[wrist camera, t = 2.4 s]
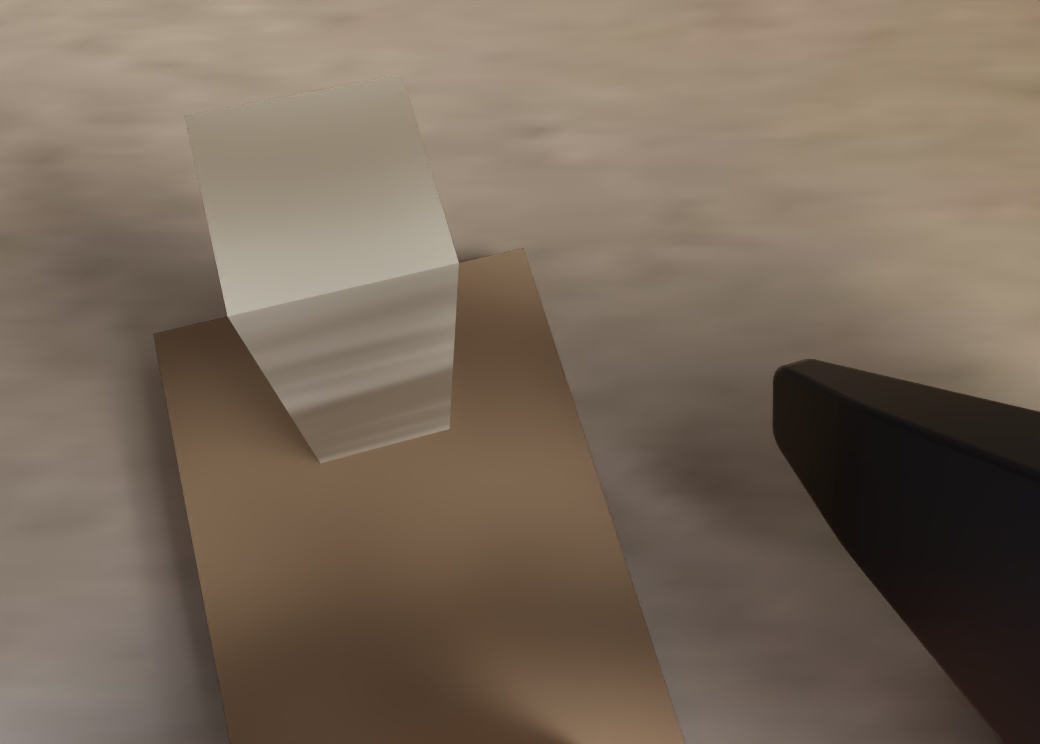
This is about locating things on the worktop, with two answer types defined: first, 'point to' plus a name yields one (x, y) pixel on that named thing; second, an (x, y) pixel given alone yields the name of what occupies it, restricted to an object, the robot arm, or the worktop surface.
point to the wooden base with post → (389, 458)
